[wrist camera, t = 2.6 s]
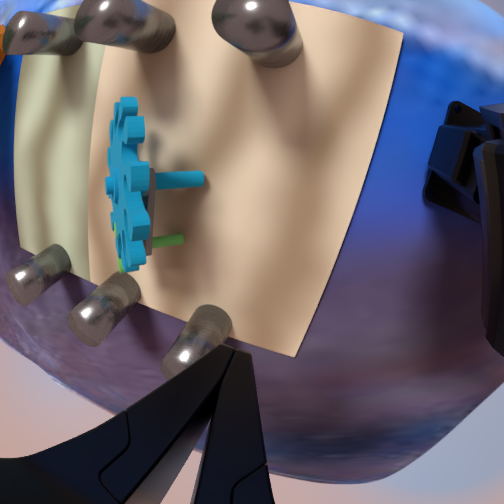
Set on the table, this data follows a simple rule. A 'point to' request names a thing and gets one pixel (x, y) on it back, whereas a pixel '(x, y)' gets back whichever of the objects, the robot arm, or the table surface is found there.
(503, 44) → the table surface
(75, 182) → the board
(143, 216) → the gear
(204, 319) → the spacer posts
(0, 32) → the decorative tree
